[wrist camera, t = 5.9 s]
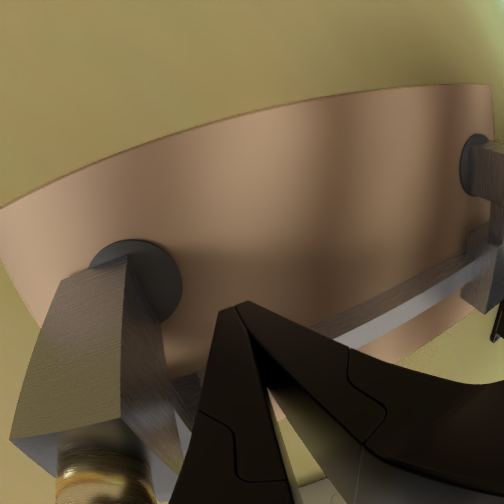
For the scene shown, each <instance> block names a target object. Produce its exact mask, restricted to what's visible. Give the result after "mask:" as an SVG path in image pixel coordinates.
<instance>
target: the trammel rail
mask: <svg viewBox="0 0 504 504" xmlns="http://www.w3.org/2000/svg"><path fill="white" fill-rule="evenodd" d="M468 148H469V193H470V194H473V195H475V196H478V197H481V198H483V199H486V200H488V201H491V204H490V218H489V220H488V221H487V222H485V223H483V224H481V225H480V226H478V227H476V228H474V229H472V230H471V231H469V232H468V234H467V245H466V247H465V248H464V249H462V250H460V251H458V252H457V253H455V254H453V255H451V256H450V257H448V258H446V259H444V260H443V261H441V262H439V263H437V264H435V265H434V266H432V267H430V268H428V269H426V270H425V271H423V272H421V273H419V274H417V275H415V276H413V277H411V278H410V279H408V280H406V281H404V282H402V283H400V284H398V285H396V286H394V287H392V288H390V289H388V290H386V291H384V292H382V293H380V294H378V295H376V296H374V297H372V298H370V299H368V300H366V301H364V302H362V303H360V304H358V305H356V306H354V307H351V308H349V309H347V310H345V311H343V312H341V313H339V314H336V315H334V316H332V317H330V318H328V319H325V320H323V321H321V322H319V323H317V324H314V325H312V326H310V327H307V328H309V329H311V330H313V331H315V332H317V333H320V334H322V335H324V336H326V337H328V338H331V339H333V340H335V341H337V342H340V343H342V344H344V345H346V346H348V347H349V348H353V349H357V348H359V347H361V346H363V345H365V344H367V343H369V342H371V341H372V340H374V339H376V338H378V337H380V336H382V335H384V334H385V333H387V332H389V331H391V330H393V329H394V328H396V327H398V326H400V325H401V324H403V323H405V322H407V321H408V320H410V319H412V318H414V317H415V316H417V315H419V314H420V313H422V312H424V311H425V310H427V309H428V308H430V307H432V306H433V305H435V304H437V303H438V302H440V301H441V300H443V299H444V298H446V297H448V296H449V295H451V294H452V293H454V292H455V291H457V290H458V289H460V288H461V292H460V298H462V299H463V300H465V301H466V302H467V303H469V304H470V305H472V306H473V307H474V308H476V309H477V310H479V311H480V312H481V313H483V314H484V315H485V314H486V313H487V312H488V311H490V310H491V309H492V308H493V307H494V306H496V305H497V304H498V303H499V302H500V301H502V300H503V299H504V143H500V142H496V141H492V140H486V141H482V142H478V143H474V144H470V145H468ZM205 370H206V368H203V369H201V370H198V371H195V372H198V374H199V376H200V378H201V380H202V382H203V379H204V375H205ZM192 373H194V372H192ZM192 373H189V374H192ZM189 374H186V375H189ZM186 375H183V376H186ZM183 376H180V377H183ZM180 377H177V378H180ZM177 378H174V379H177ZM174 379H171V380H174ZM171 380H170V381H171ZM267 389H268V388H267Z"/></svg>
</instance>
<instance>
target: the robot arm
mask: <svg viewBox="0 0 504 504" xmlns="http://www.w3.org/2000/svg"><path fill="white" fill-rule="evenodd" d="M500 337H502V338H503V339H504V299H503V300H502V301H501V305H500V309H499V312H498V316H497V320H496V323H495V326H494V330H493V333H492V336H491V339H490V341H491V342H493V343H495V342H496V341H497V340H498V339H499V338H500ZM267 388H268V389H267ZM268 390H269V392H270V393H271V395H272V396H273V398H274V399H275V401H276V403H277V404H278V406H279V407H280V409H281V410H282V412H283V413H284V415H285V416H286V418H287V419H288V421H289V422H290V424H291V425H292V427H293V428H294V430H295V431H296V433H297V434H298V436H299V437H300V439H301V440H302V441H303V443H304V444H305V446H306V447H307V449H308V450H309V452H310V453H311V455H312V456H313V457H314V459H315V460H316V462H317V463H318V465H319V466H320V467H321V469H322V470H323V472H324V473H325V474H326V476H327V477H328V479H329V480H330V481H331V483H332V484H333V485H334V487H335V488H336V490H337V491H338V492H339V494H340V495H341V496H342V498H343V499H344V500H345V502H346V503H347V504H504V380H502V381H498V382H494V383H490V384H465V383H460V382H455V381H451V380H447V379H444V378H440V377H436V376H432V375H429V374H425V373H421V372H418V371H414V370H411V369H407V368H404V367H401V366H398V365H394V364H391V363H388V362H385V361H382V360H380V359H377V358H375V357H372V356H370V355H367V354H365V353H363V352H360V351H358V350H356V349H353V348H349V347H348V346H346V345H344V344H342V343H340V342H337V341H335V340H333V339H331V338H328V337H326V336H324V335H322V334H320V333H317V332H315V331H313V330H311V329H309V328H307V327H304V326H302V325H300V324H298V323H296V322H294V321H292V320H289V319H287V318H285V317H283V316H281V315H279V314H277V313H275V312H273V311H270V310H268V309H266V308H264V307H262V306H260V305H258V304H256V303H254V302H252V301H249V300H247V301H244V302H241V303H239V304H236V305H235V306H231V307H228V308H225V309H223V310H220V311H219V312H218V315H217V320H216V324H215V329H214V333H213V338H212V342H211V347H210V352H209V356H208V361H207V365H206V370H205V375H204V379H203V384H202V389H201V394H200V398H199V403H198V408H197V411H198V412H196V417H195V421H194V426H193V430H192V434H191V438H190V442H189V446H188V449H187V453H186V456H185V459H184V462H183V465H182V468H181V470H180V473H179V476H178V479H177V481H176V484H175V487H174V490H173V492H172V495H171V498H170V501H169V503H168V504H303V501H302V498H301V495H300V492H299V489H298V486H297V482H296V479H295V476H294V473H293V470H292V467H291V464H290V460H289V457H288V454H287V451H286V448H285V444H284V441H283V438H282V435H281V432H280V428H279V425H278V422H277V418H276V415H275V412H274V409H273V405H272V402H271V399H270V395H269V392H268Z"/></svg>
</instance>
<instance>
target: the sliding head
mask: <svg viewBox="0 0 504 504" xmlns="http://www.w3.org/2000/svg"><path fill="white" fill-rule="evenodd" d="M202 384H203V382H202V380H201V378H200V376H199V374H198V372H194V373H192V374H189V375H186V376H183V377H180V378H177V379H174V380H171V381H170V379H169V377H168V372H167V365H166V358H165V351H164V344H163V337H162V329H161V325H160V323H159V321H158V319H157V317H156V315H155V313H154V311H153V309H152V306H151V304H150V302H149V300H148V298H147V296H146V294H145V292H144V290H143V288H142V285H141V283H140V281H139V279H138V277H137V274H136V272H135V270H134V268H133V265H132V263H131V261H130V259H129V256H128V254H127V255H124V256H122V257H119V258H116V259H114V260H111V261H108V262H106V263H103V264H101V265H98V266H96V267H93V268H90V269H88V270H85V271H83V272H80V273H78V274H75V275H73V276H70V277H68V278H65V279H63V280H61V281H60V283H59V286H58V288H57V290H56V293H55V295H54V297H53V300H52V302H51V305H50V307H49V310H48V312H47V315H46V317H45V320H44V322H43V325H42V328H41V330H40V333H39V336H38V339H37V341H36V344H35V347H34V350H33V353H32V356H31V359H30V362H29V365H28V368H27V372H26V375H25V378H24V382H23V385H22V389H21V392H20V396H19V400H18V403H17V407H16V411H15V415H14V420H13V424H12V428H11V433H10V438H9V440H10V441H11V442H12V443H13V444H14V445H15V446H17V447H18V448H19V449H20V450H21V451H22V452H23V453H25V454H26V455H27V456H28V457H29V458H31V459H32V460H33V461H34V462H36V463H37V464H38V465H39V466H41V467H42V468H43V469H44V470H46V471H47V472H48V473H50V474H51V475H52V476H54V477H55V478H56V504H157V501H156V500H158V501H159V502H166V501H170V498H171V495H172V492H173V490H174V487H175V484H176V481H177V479H178V476H179V473H180V470H181V468H182V465H183V462H184V459H185V456H186V453H187V449H188V446H189V442H190V438H191V434H192V430H193V426H194V421H195V417H196V412H198V411H197V408H198V403H199V398H200V394H201V389H202Z"/></svg>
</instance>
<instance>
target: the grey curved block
mask: <svg viewBox="0 0 504 504" xmlns="http://www.w3.org/2000/svg"><path fill="white" fill-rule="evenodd" d="M298 489H299V492H300V495H301V498H302V501H303V504H347V503H346V502H345V500H344V499H343V498H342V496H341V495H340V494H339V492H338V491H337V490H336V488H335V487H334V485H333V484H332V483H331V481H330V480H329V479H328V478H326V479H323V480H320V481H318V482H315V483H312V484H309V485H306V486H303V487H300V488H298Z"/></svg>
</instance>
